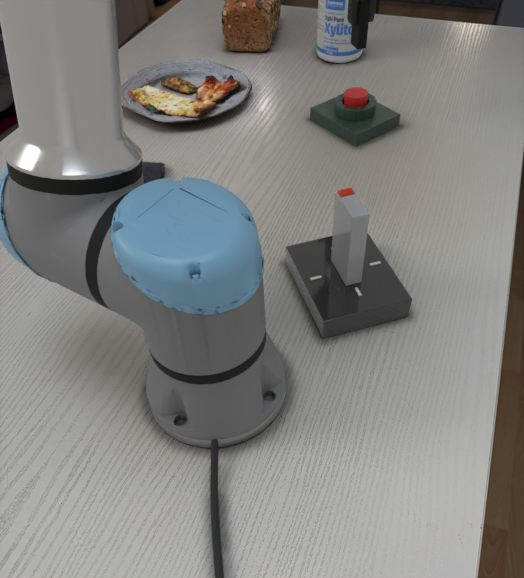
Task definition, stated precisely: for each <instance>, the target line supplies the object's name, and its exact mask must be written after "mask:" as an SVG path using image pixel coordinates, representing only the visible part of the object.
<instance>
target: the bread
mask: <svg viewBox="0 0 524 578" xmlns="http://www.w3.org/2000/svg"><path fill="white" fill-rule="evenodd" d="M281 8H282V0H224V5H223V7H222V9H221V31H222V32H221V33H222V35H223V37H224V39H223V41H224V44H225V48H226V50H229V51H233V52H251V53H252V52H253V53H254V52H257V53H258V52H259V53H263V52H267V51H268V50H269V49H270V47H271V44H272V43H273V40H274V37H275V35H276V33H277V29H278V26H279V23H280V19H281Z"/></svg>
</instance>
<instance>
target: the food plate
mask: <svg viewBox="0 0 524 578" xmlns="http://www.w3.org/2000/svg"><path fill="white" fill-rule="evenodd" d="M252 90H253V85H252V83H251V81H250V79H249V78H248V76H246V75H245V73H244V72H243V71H241V70H238V69H235V68H233V67H231V66H227V65H225V64H222V63H219V62H215V61H212V60H210V59H201V58H199V59H187V60H174V61H172V60H170V61H165V62H162V63H156V64H153V65H150V66H146V67H144V68H143V69H141V70H139V71H137V72H135V73H134V74H131V75H129V76H128V77H126V78H125V80H124V82H122V83H121V98H122V107H125V108H126V109H129V110H131V111H132V112H133V113H137V114H138V115H141V116H143V117H146V118H148V119H150V120H153V121H155V122H156V121H157V122H158V123H159V122H160V123H163V124H164V123H165V124H182V123H184V124H185V123H186V124H187V123H197V122H201V121H204V120H212V119H215V118H217V117H218V116H220V115H223V114H225V113H227V112H229V111H232V110H233V109H235V108H238V107H240V106H241V105H242V104H244V103H245V102H246V100H247V99H248V98H249V95H250V93H251V91H252Z"/></svg>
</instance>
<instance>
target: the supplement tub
mask: <svg viewBox="0 0 524 578" xmlns="http://www.w3.org/2000/svg"><path fill="white" fill-rule="evenodd" d="M347 14H348V0H318V1H317V24H316V47H315V48H316V54H317V56H318V58H320V59H321V60H323V61H325V62H329V63H333V64H344V63H349V62H352V61H356V60H358V59H359V58H360V57H361V55H362V54H363V50H364V49H358V50H357V49H356V48H355V47H354V46H353V45H352V44H351V31H352V25H351V24H350V23H349V22H348V19H347Z"/></svg>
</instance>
